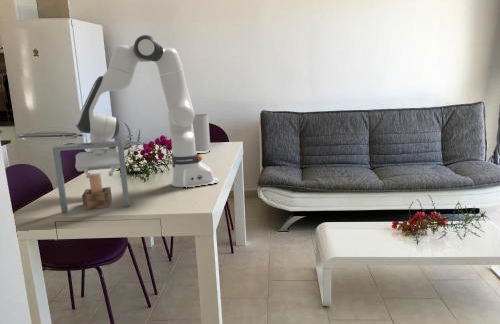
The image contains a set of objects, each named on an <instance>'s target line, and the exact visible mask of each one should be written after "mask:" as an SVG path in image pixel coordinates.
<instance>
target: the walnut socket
mask: <svg viewBox="0 0 500 324" xmlns="http://www.w3.org/2000/svg"><path fill="white" fill-rule="evenodd" d="M102 190H103V193H93V194H91V188H86V189H85V190H84V192H83V193H82V195H81V198H82V205H83V210H85V211H86V210H87V211H88V210H96V209H104V208H110V207H111V205H112V201H113V197H112V189H111V186H106V187H102Z"/></svg>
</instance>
